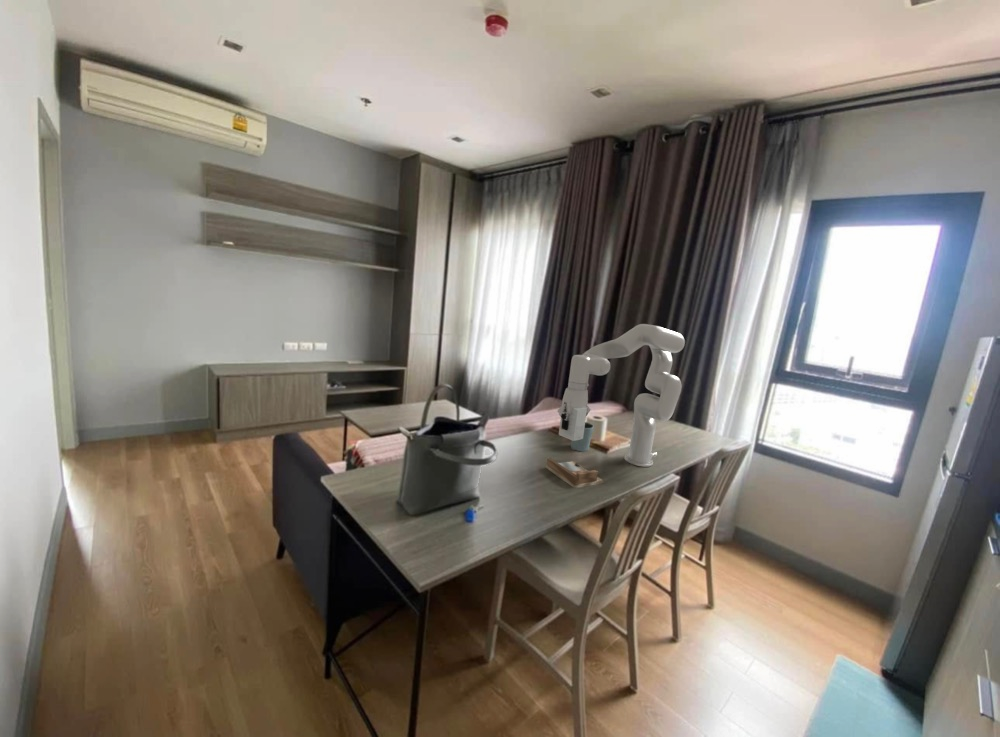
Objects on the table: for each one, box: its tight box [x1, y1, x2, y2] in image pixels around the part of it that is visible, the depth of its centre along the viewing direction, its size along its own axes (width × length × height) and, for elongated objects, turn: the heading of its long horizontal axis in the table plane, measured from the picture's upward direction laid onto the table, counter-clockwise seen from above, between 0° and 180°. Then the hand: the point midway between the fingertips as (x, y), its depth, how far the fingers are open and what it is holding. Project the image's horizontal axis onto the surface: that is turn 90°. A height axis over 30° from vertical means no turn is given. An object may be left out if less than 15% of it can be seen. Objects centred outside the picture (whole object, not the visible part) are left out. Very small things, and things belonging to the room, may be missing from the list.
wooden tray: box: [545, 457, 604, 489], centre depth 166 cm, size 14×19×5 cm
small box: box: [558, 408, 587, 441], centre depth 167 cm, size 8×6×13 cm
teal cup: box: [570, 421, 595, 452], centre depth 197 cm, size 10×10×12 cm
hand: (571, 428), depth 168 cm, fingers closed on small box, 7 cm apart
